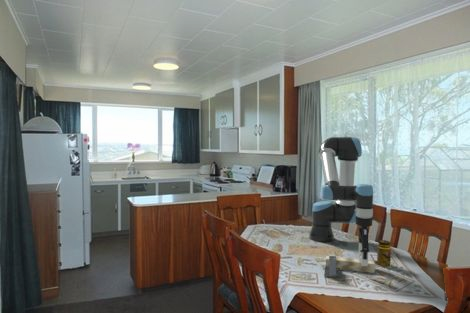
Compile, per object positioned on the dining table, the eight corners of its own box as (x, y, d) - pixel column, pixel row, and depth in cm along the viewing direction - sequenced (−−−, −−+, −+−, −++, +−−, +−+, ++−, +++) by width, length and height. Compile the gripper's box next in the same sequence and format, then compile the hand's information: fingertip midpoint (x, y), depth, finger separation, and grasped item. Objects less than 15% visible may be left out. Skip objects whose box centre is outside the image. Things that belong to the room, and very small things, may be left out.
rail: (324, 268, 156) (325, 255, 156) (339, 270, 154) (340, 256, 154) (324, 276, 146) (324, 262, 146) (340, 278, 144) (341, 264, 144)
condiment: (390, 268, 156) (391, 244, 156) (371, 265, 161) (372, 241, 160) (391, 263, 163) (392, 240, 162) (373, 260, 167) (374, 237, 166)
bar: (325, 268, 158) (326, 258, 157) (325, 264, 162) (326, 255, 162) (374, 273, 151) (374, 264, 151) (373, 269, 156) (373, 260, 155)
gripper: (353, 211, 167) (352, 251, 167) (357, 221, 143) (356, 269, 143) (369, 212, 165) (368, 253, 165) (376, 223, 141) (375, 271, 141)
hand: (363, 260), depth 154 cm, fingers open, 13 cm apart
